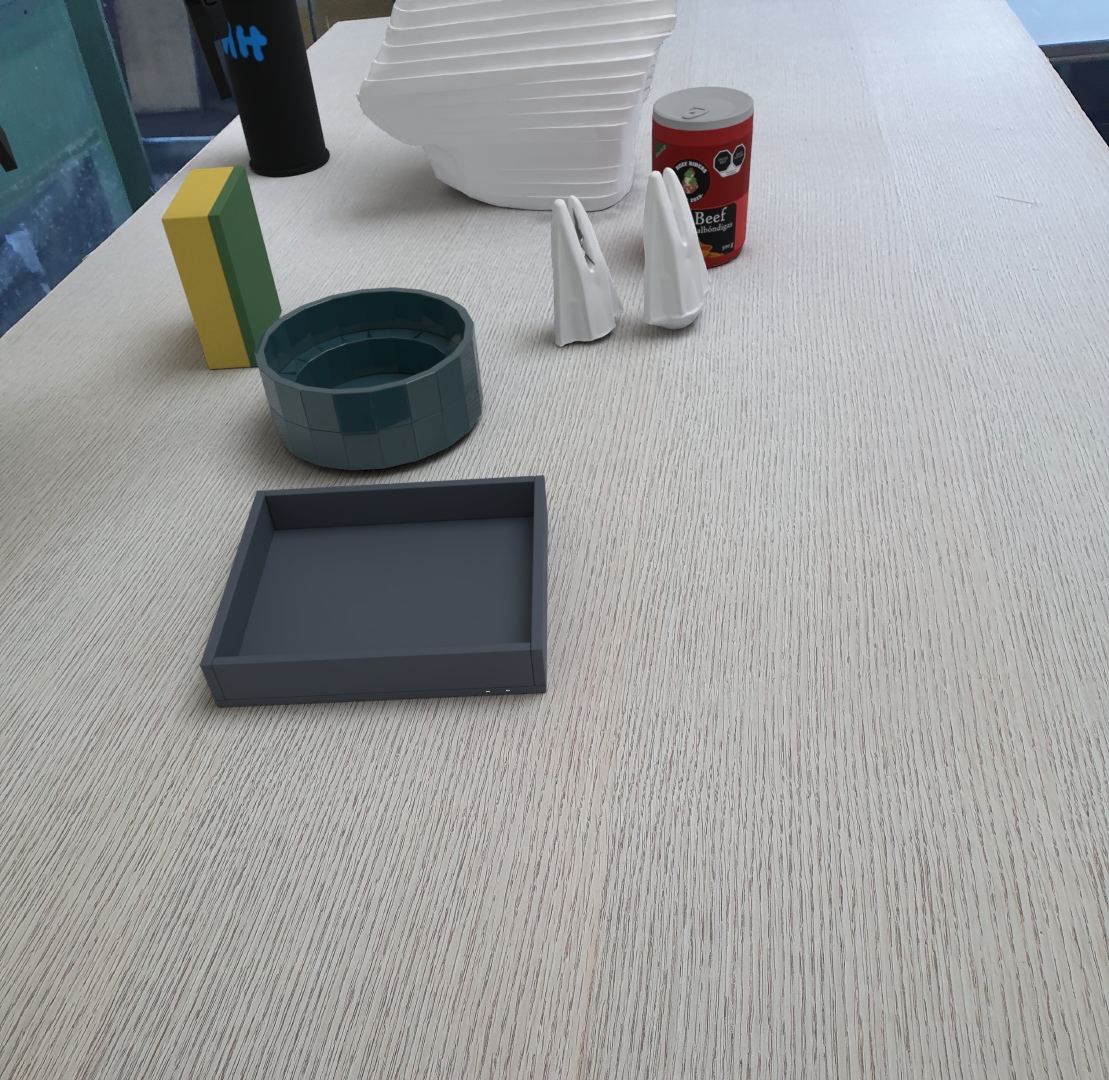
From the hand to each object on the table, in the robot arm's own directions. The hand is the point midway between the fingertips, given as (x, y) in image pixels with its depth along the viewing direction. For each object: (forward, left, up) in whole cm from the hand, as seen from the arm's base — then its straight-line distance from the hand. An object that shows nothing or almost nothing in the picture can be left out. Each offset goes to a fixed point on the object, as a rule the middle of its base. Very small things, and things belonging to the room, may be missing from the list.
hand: (114, 117), depth 66 cm
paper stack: (+24, +37, -18) cm, 48 cm away
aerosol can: (-1, +45, -18) cm, 49 cm away
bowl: (+14, -6, -18) cm, 23 cm away
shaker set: (+32, +5, -18) cm, 37 cm away
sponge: (+2, +7, -18) cm, 19 cm away
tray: (+17, -26, -18) cm, 36 cm away
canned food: (+38, +18, -18) cm, 46 cm away
